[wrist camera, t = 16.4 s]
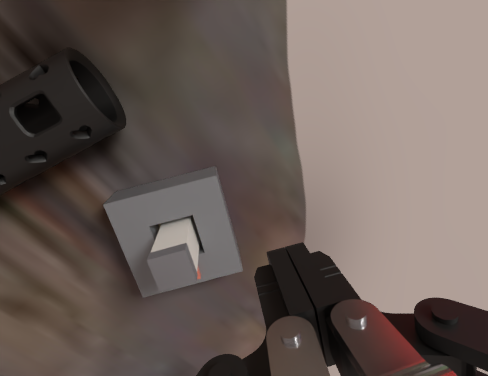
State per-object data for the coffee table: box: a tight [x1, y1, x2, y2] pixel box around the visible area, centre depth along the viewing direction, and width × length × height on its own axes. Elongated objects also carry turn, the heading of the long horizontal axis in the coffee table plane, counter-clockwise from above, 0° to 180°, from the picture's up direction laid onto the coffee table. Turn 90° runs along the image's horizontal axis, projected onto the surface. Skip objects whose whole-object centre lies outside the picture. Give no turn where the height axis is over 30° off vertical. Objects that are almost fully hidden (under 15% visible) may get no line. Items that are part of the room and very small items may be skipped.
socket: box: [103, 166, 243, 298], centre depth 39 cm, size 14×14×6 cm
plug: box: [147, 215, 200, 292], centre depth 35 cm, size 4×4×11 cm
